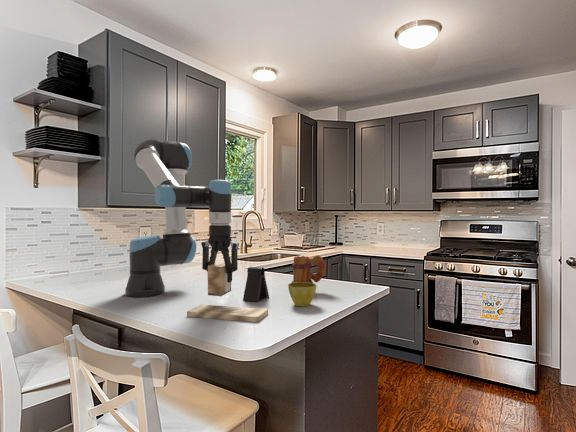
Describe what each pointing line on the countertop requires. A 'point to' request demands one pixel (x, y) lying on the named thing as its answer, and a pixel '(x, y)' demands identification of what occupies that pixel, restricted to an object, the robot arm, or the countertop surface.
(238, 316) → the board
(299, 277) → the mug
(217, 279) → the block
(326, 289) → the countertop surface
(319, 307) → the countertop surface
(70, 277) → the countertop surface
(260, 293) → the door stopper
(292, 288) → the flower pot
